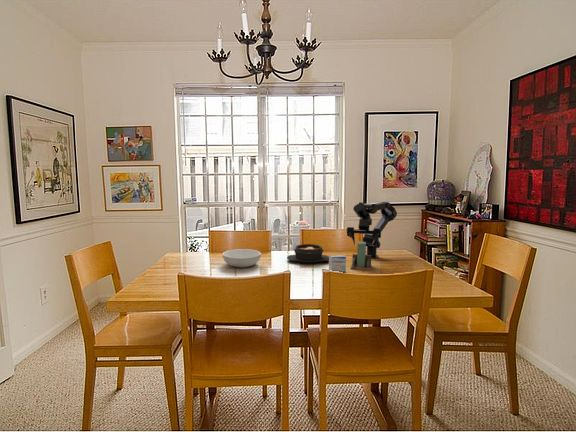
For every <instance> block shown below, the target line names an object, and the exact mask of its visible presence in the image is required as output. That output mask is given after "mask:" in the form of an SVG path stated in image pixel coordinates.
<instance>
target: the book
mask: <svg viewBox="0 0 576 432" xmlns="http://www.w3.org/2000/svg"><path fill="white" fill-rule="evenodd" d="M356 249H357V251H356V253H357V266H358V267H365V258H366V255H367V246H366V242H363V241H358V242H357V248H356Z"/></svg>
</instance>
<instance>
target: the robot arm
mask: <svg viewBox="0 0 576 432" xmlns="http://www.w3.org/2000/svg"><path fill="white" fill-rule="evenodd" d="M353 211H354V213H355V215H356V216H357V217H358V218H359V220H358V222H359V223H358V229H355V227H354V226H347V227H346V236H347V237H348V238H351V240H352V242H353V246H354V245H355V244H356V241H355V237H356V236H355V234H359V235H364V236H363V237H362V242H366V255H371V259H376V258H378V256H379V255H378V254H377V252H378V251H377V249H379V248H380V247H381V241H380V239H381V238H382V231H383V230H384V229H385V228H386V226H387V225H388V223H389V222H391V221H393V220H395V219H396V218H397V215H398V211H397V210H396V208H395V207H394V206H392V205H391V203H390V202H388V201H381V202H376V203H366V202H365V203H363V201H362V202H359V203H357V204H355V205H353ZM378 211H380V213H381V218H380V219H379V220H378V221H377V223H376V225H375V226H374V227H373V229H372V230H370V226H372V225H373V223H372V222H373V219H372V217H371V215H372V214H373V215H374V214H376V213H377V212H378Z"/></svg>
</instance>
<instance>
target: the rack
mask: <svg viewBox="0 0 576 432" xmlns="http://www.w3.org/2000/svg"><path fill="white" fill-rule="evenodd" d="M351 261H352V262H351V266H350V270H356V269H359V271H371V268H372V258H371V255H367V254H366V258H365V267H358V266H357V254H356V253H352V260H351Z"/></svg>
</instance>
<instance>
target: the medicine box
mask: <svg viewBox="0 0 576 432" xmlns="http://www.w3.org/2000/svg"><path fill="white" fill-rule="evenodd" d="M328 256H329V260H328V271H329V270H332V271H339V272H347V256H346V255H344V254H338V255H337V254H335V255H333V254H332V255H328Z"/></svg>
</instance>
